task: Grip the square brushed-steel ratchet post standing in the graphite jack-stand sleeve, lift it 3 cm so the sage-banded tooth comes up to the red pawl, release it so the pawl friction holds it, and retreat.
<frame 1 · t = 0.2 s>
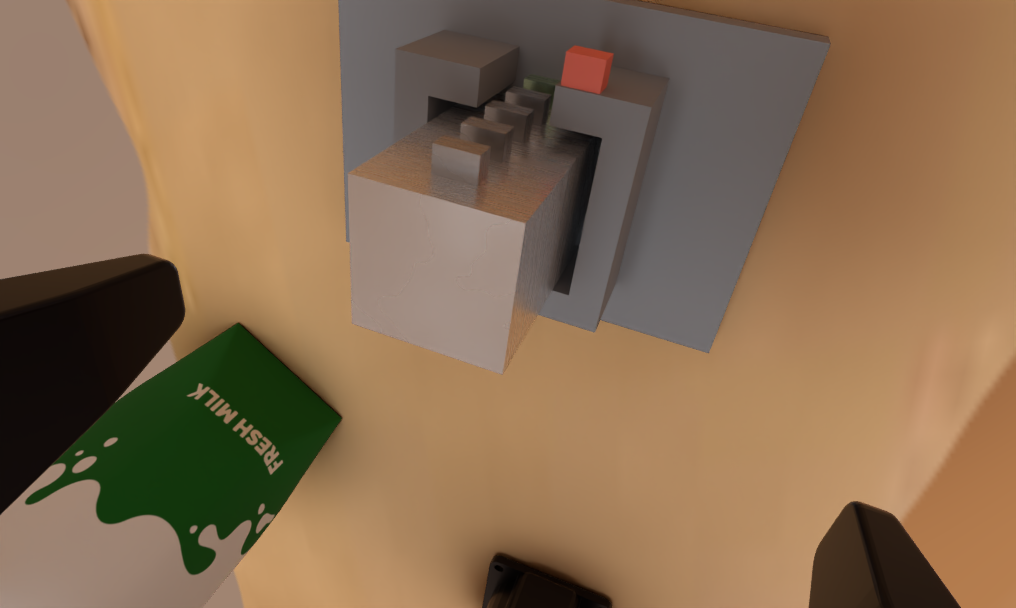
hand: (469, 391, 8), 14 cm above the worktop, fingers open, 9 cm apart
stand: (544, 154, 21), on the worktop
milk carton: (266, 396, 34), on the worktop
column: (492, 199, 17), point 5 cm above the worktop, slide at 0.0 cm, touching stand
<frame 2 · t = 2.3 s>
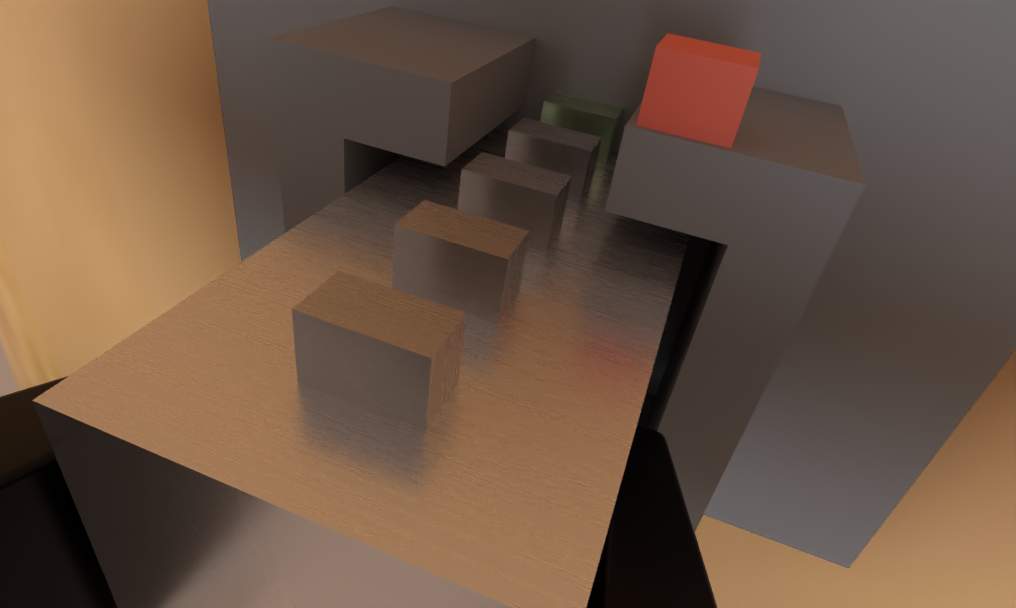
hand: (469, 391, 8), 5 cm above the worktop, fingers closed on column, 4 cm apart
stand: (573, 229, 12), on the worktop
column: (478, 360, 8), point 5 cm above the worktop, slide at 0.0 cm, touching gripper, stand
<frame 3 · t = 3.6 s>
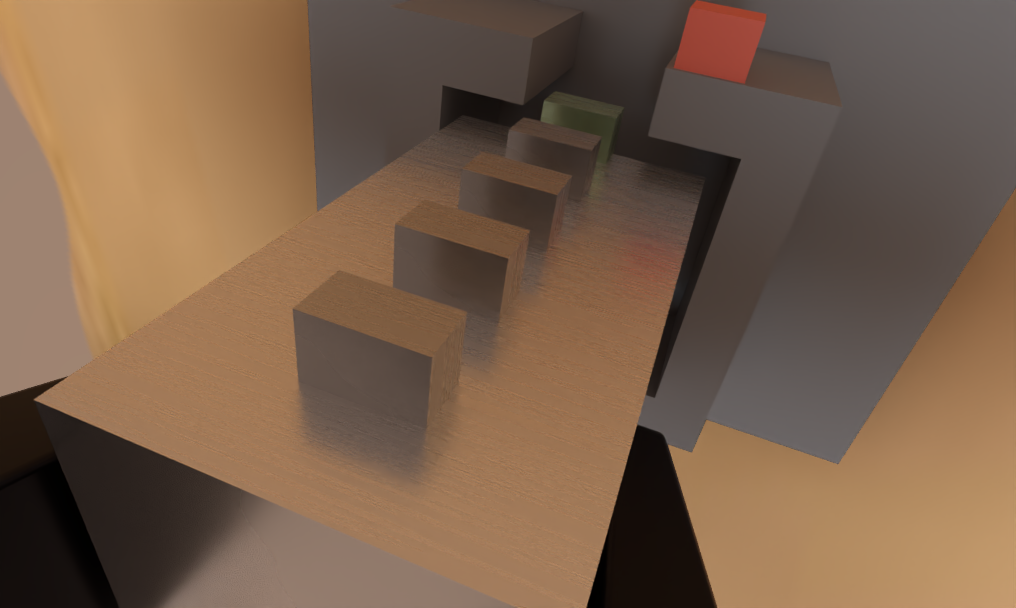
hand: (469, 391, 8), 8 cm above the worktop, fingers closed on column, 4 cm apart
stand: (606, 175, 14), on the worktop
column: (478, 359, 8), point 8 cm above the worktop, slide at 2.9 cm, touching gripper
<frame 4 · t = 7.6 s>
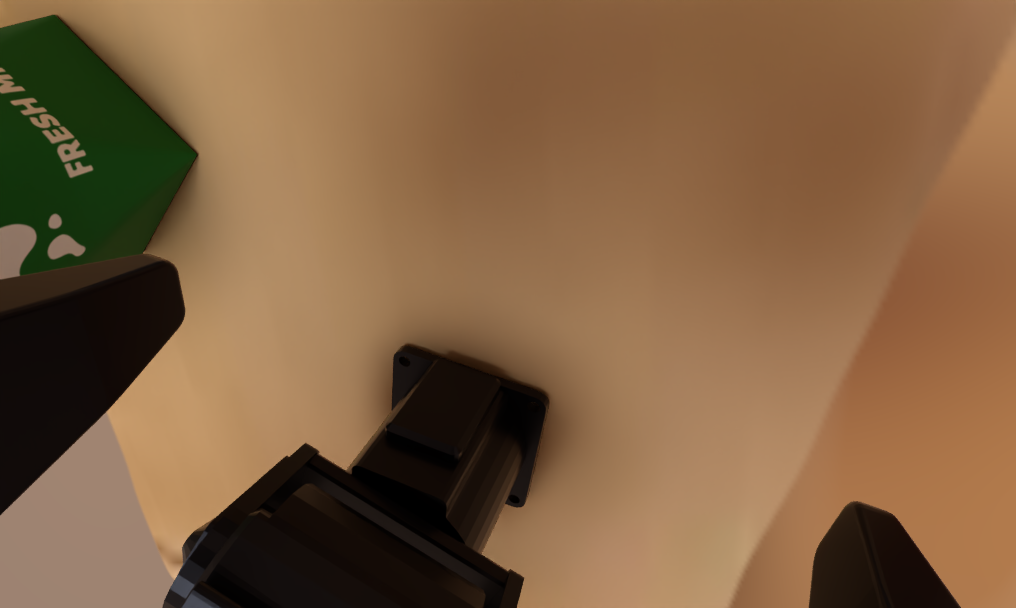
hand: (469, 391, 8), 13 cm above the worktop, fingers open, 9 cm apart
milk carton: (109, 143, 26), on the worktop
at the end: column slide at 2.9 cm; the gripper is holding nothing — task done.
